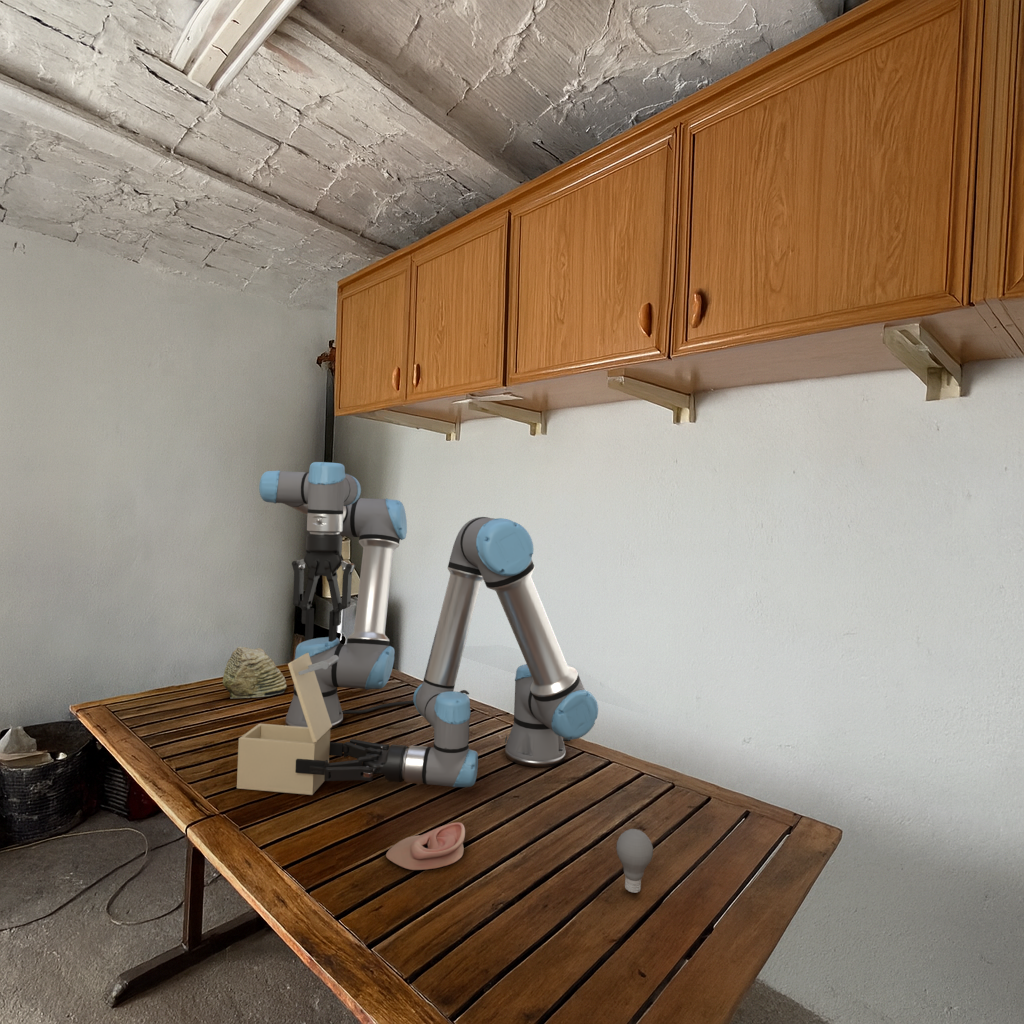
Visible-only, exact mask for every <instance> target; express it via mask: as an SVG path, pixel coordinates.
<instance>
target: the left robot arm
mask: <svg viewBox="0 0 1024 1024" xmlns="http://www.w3.org/2000/svg"><path fill="white" fill-rule="evenodd" d="M308 469H309V470H308V471H307V472H306V471H305V472H304V471H287V470H286V471H285V470H280V469H279V470H266V471H265V472H263V473H262V474H261V476H260V479H259V484H258V485H259V486H258V489H259V490H258V491H259V495H260V497H261V499H262V501H264V502H266V503H271V504H284V505H285V506H288V507H290V508H292V509H294V510H296V511H298V512H299V513H302V514H304V515H305V516H306V517H307V518H306V521H307V522H306V531H307V532H309V533H307V535H306V541H305V543H306V544H305V550H306V551H305V555H304V556H303V558H302V559H301V558H300V559H297V560H293V561H292V562H291V567H292V570H293V600H292V604H293V606H295V607H298V608H300V610H301V624H302V625H305V626H304V629H305V630H304V641H302V642H300V643H298V644H297V645H296V648H295V655H294V659H293V661H294V660H295V659H297V658H299V657H300V656H302V655H304V654H306V653H309V656H310V659H311V662H312V664H315V663H318V662H321V661H324V660H327V659H329V658H330V657H332V656H334V655H337V656H338V657H339V660H338V661H337V662H336V663H335V664H333V665H332V666H330V667H329V668H327V669H323V668H321V669H318V670H315V675H316V678H317V681H318V684H319V687H320V690H321V693H322V696H323V699H324V703H325V706H326V709H327V712H328V715H329V718H330V721H331V724H332V727H331V728H330V730H332V729H335V728H337V727H339V726H340V725H342V723H343V722H344V715H352V714H353V715H355V714H357V715H358V714H365V713H369V712H374V711H376V710H379V709H383V708H388V707H389V708H390V707H394V706H402V705H411V704H414V702H413V699H411V700H404V701H403V700H402V701H395V702H388V703H382V704H379V705H376V706H373V707H369V708H365V709H359V710H358V709H356V710H353V709H350V710H343V709H342V706H341V702H340V699H339V695H338V688H344V689H363V690H367V691H368V690H381V689H383V688H384V687H385V686H386V685H387V684H388V682H389V680H390V677H391V675H392V671H393V668H394V663H395V651H396V650H395V647H393V646H391V645H390V638H388V636H387V635H386V625H387V615H388V607H389V606H388V605H389V596H390V585H391V579H392V578H391V577H392V568H393V558H394V557H393V556H394V552H395V550H397V548H399V547H400V543H401V541H403V540H405V539H406V538H407V533H408V523H407V522H408V521H407V514H406V509H405V505H404V504H403V502H401V500H398V499H390V498H387V497H385V498H372V497H371V498H366V497H360V496H361V494H362V487H361V484H360V482H359V480H358V479H357V478H356V477H355V476H353V475H351V474H349V473H346V468H345V465H344V464H343V463H340V462H339V463H338V462H329V461H327V462H326V461H314V462H312V463H310V465H309V468H308ZM343 536H345V537H349V538H358V543H359V545H360V546H361V547H362V558H361V565H360V575H359V584H358V592H357V601H356V609H355V619H354V627H353V632H352V633H351V634H350V635H348V636H347V638H346V643H345V644H344V643H341V641H340V639H339V638H338V637H337V634H338V633H337V630H338V627H339V626H341V624H342V612H343V610H346V609H348V608H350V607H351V604H352V603H351V601H352V584H353V583H352V582H353V581H352V580H353V572H354V570H355V567H356V564H355V563H354V562H349V561H346V560H344V557H343ZM306 567H307V568H308V570H309V573H308V577H307V579H308V580H307V584H306V588H305V590H304V586H305V585H304V583H305V568H306ZM340 568H341V570H342V585H341V591H340V587H339V581H338V570H339V569H340ZM321 576H323V577H325V578H326V582H327V583H328V589H329V594H330V595H329V596H330V599H331V604H332V605H331V606H332V609H331V610H330V611H329V617H328V618H329V619H328V636H325V637H316V638H314V624H315V623H314V622H315V608H314V607H313V605H312V603H313V599H314V595H315V592H316V588H317V584H318V582H319V579H320V577H321ZM459 692H461V693H464V694H466V695H470V692H469V691H468V690H465V689H462V690H460V691H459ZM292 696H293V697H292V699H291V702H290V704H289V708H288V711H287V713H286V715H285V726H298V727H308V726H307V722H306V719H305V716H304V713H303V710H302V707H301V704H300V701H299V698H298V694H297V691H296V688H295V685H294V684H293V695H292Z"/></svg>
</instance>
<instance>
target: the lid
mask: <svg viewBox="0 0 1024 1024" xmlns="http://www.w3.org/2000/svg"><path fill="white" fill-rule="evenodd" d="M294 659H295V658H294ZM294 659H293V660H291V661H290V662H288V663H287V666H288V669H289V670H288V671H289V672H290V675H291V678H292V683H293V686H294V685H295V688H296V691H297V694H298V698H299V701H300V704H301V707H302V710H303V713H304V716H305V719H306V722H307V726H308V729H309V732H310V735H311V738H312V741H313V743H314V742H317V741H318V740H319V739H320V738H321V737H322V736H323V735H324V734H325V733H326V732H327V731H328V730H329V729H330V728H331V727H332V724H331V721H330V718H329V715H328V712H327V709H326V706H325V703H324V699H323V696H322V693H321V690H320V687H319V684H318V681H317V678H316V675H315V670H318V669H321V668H323V669H327V668H329V667H330V666H332V665H333V664H335V663H336V662H337V661H338V660H339V657H338V656H337V655H334V656H332V657H330V658H329V659H327V660H324V661H321V662H318V663H315V664H312V662H311V659H310V656H309V653H306V654H304V655H302V656H300V657H299V658H297V659H295V660H294ZM330 730H331V729H330Z"/></svg>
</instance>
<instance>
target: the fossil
mask: <svg viewBox="0 0 1024 1024" xmlns="http://www.w3.org/2000/svg"><path fill="white" fill-rule="evenodd" d="M222 676H223V677H222V685H223V687H224V688H225V690H226V691H228V693H229V698H230V699H250V698H264V697H271V696H275V695H281V694H284V693H285V691H286V689H287V687H288V686H287V680H286V678H285V676H284V674H283V673H282V672H281V669H279V668H278V667H277V665H276V663H275V662H274V660H273V659H272V658H271V657H270V656H269V655H268V654H267V653H266V652H265V650H264V649H263V648H260V647H258V648H251V647H247V646H246V647H245V646H238V647H237V648H236V649H235V650H233V651H232V653H231V656H230V657H229V659H228V660H227V663H226V666H225V668H224V671H223V675H222Z"/></svg>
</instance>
